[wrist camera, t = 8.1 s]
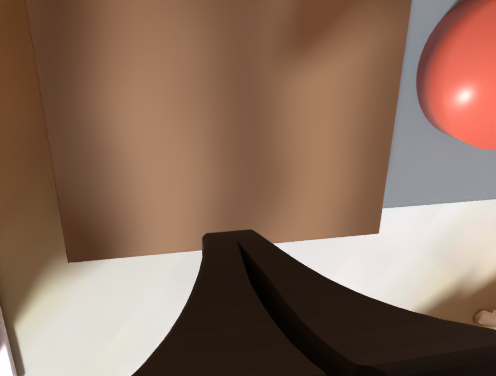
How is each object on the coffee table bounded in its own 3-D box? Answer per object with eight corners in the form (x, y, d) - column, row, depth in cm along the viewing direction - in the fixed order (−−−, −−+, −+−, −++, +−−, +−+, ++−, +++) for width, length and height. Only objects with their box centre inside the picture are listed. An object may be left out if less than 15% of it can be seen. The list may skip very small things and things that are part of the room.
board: (78, 229, 21) (68, 262, 18) (15, -191, 15) (-14, -235, 12) (352, 207, 24) (378, 233, 21) (393, -155, 18) (437, -184, 15)
